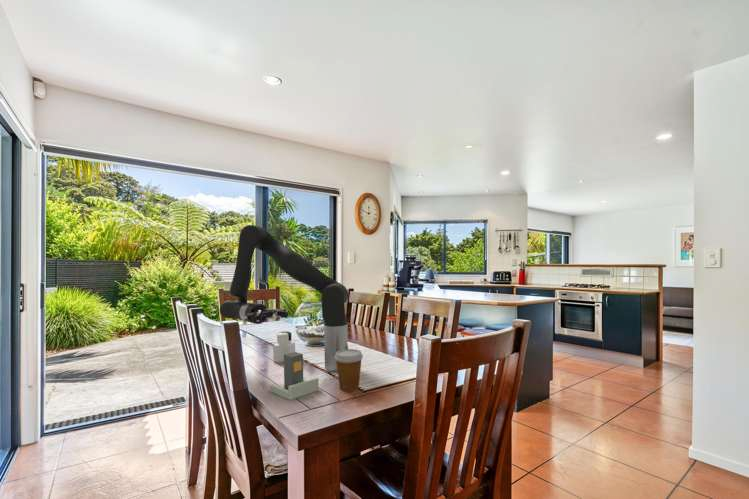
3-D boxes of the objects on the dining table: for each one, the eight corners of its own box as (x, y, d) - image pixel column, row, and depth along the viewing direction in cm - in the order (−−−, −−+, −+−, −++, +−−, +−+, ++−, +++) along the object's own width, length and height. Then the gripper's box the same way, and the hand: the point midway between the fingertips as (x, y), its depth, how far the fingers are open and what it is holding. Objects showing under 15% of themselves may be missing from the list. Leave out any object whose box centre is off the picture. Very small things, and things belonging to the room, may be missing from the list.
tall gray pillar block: (284, 390, 124) (283, 354, 124) (295, 387, 127) (294, 351, 127) (292, 394, 121) (291, 357, 121) (303, 390, 124) (303, 354, 124)
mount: (269, 390, 124) (269, 378, 124) (297, 381, 132) (297, 370, 132) (290, 400, 116) (290, 387, 116) (318, 389, 124) (318, 377, 124)
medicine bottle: (280, 357, 164) (279, 330, 164) (295, 357, 163) (295, 330, 163) (273, 362, 156) (272, 333, 157) (289, 362, 156) (289, 334, 156)
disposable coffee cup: (357, 394, 119) (357, 357, 119) (330, 392, 122) (329, 355, 122) (367, 384, 128) (366, 349, 128) (341, 382, 131) (340, 348, 131)
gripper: (235, 305, 137) (257, 308, 126) (269, 300, 147) (293, 303, 136) (236, 325, 137) (258, 330, 126) (270, 319, 147) (294, 324, 136)
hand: (276, 316), depth 131 cm, fingers open, 8 cm apart
